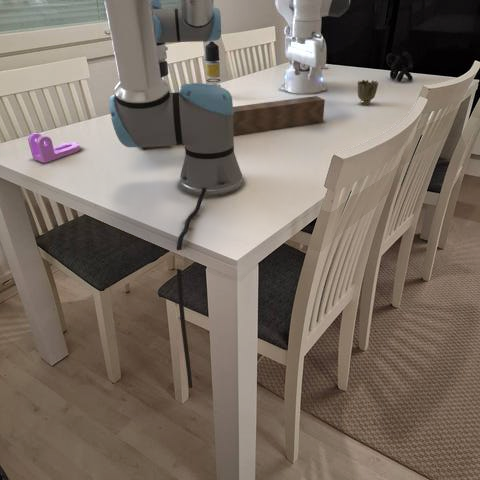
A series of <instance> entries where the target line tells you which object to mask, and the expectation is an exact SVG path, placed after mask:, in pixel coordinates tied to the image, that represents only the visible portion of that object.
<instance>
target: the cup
mask: <svg viewBox="0 0 480 480" xmlns="http://www.w3.org/2000/svg"><path fill="white" fill-rule="evenodd" d="M378 86H379V82H378V81H377V80H375V81H374V80H371V81H370V82H369V79H367V80H364V79H362V80H359V81H357V97H358V99H359V101H360V104H361V105H364V106H367V105H370V104H371V101H372V100H374V99H375V97H376V94H377V90H378Z"/></svg>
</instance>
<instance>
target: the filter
mask: <svg viewBox="0 0 480 480" xmlns="http://www.w3.org/2000/svg"><path fill="white" fill-rule="evenodd" d="M204 48H205V51H204V52H205V60H204V61H205V66H206V67H205V68H206V69H205V71H206V78H208V79H206V83H207V82H208V83H209V84H210V83H211V84H210V85H215V86H219V87H222V86H221V84H218V83H219V82H220V81H221V79H219V78H220V77H221V71H220V70H221V69H220V62H219V61H221V60H220V59H221V58H220V49H219V45H218V44H217V43H215V42H214V41H209V43H207V44H206V45H205V47H204ZM213 79H215V80H213ZM212 80H213V81H212Z"/></svg>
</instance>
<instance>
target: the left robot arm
mask: <svg viewBox="0 0 480 480" xmlns="http://www.w3.org/2000/svg"><path fill="white" fill-rule="evenodd" d="M103 1H104V6H105V12H106V17H107V22H108V27H109V32H110V38H111V43H112V48H113V53H114V59H115V64H116V68H117V75H118V79H119V82H118V83H117V85H116V86H115V87H114V91H113V92H114V94H113V95H111V96H110V98H109V104H108V105H109V113H110V117H111V123H112V126H113V129H114V132H115V133H114V134H115V135H116V137H117V139H118V141H119V142H120V143H121V144H122V145H123V146H125V147H126V148H139V149H142V148H145V147H155V148H159V147H158V146H162V147H173V146H174V147H176V146H184V154H185V155H184V158H183V164H182V168H181V171H180V176H179V183H180V184H179V185H180V188H181V189H182V191H184V192H186V193H187V194H190V195H194V196H199V197H198V199H197V202H196V205H195V208H194V210H192V212H191V213H190V214H189V215H188V216H187V218H186V219H185V222H184V227H183V229H182V231H181V233H180V234H179V235H178V238H177V241H176V251H181V250H182V246H183V242H184V241H183V240H184V238H185V236H186V235H187V233H188V231H189V229H190V223H191V221H192V220H193V219H194V217H196V215H197V214H198V213H199V211H200V209H201V206H202V202H203V200H204V197H221V196H224V195H229V194H232V193H234V192H235V191H237V190H239V189H240V188H241V187H242V185H243V174H242V171H241V168H240V165H239V163H238V160H237V157H236V154H235V138H234V137H235V136H234V134H233V114H234V110H233V107H234V106H233V105H234V104H233V96H232V94H231V92H230V91H229V90H227V89H226V88H224V87H222V86H221V87H219V86H215V85H210V83H199V82H191V83H184V84H182V85H180V86H179V89H178V92H171V91H170V85H169V83H168V82H167V81H165V80H164V79H163V78H164V77H167V76H168V75H169V66H168V65H169V64H168V63H169V62H168V61H167V59H168V58H167V56H168V55H167V51H168V50H169V47H168V46H166V44H167V43H168V44H169V43H172V44H173V43H194V42H195V43H196V42H199V43H201V42H203V43H208V42H211V41H213V42H214V41H215V42H216V41H219V40H220V39H221V38H222V37H221V36H222V17H221V15H222V14H221V10H220V8H218V7H214V0H179V2H180V8H163V5H162V0H103ZM182 272H183V271H182V269H180V268H177V269H176V281H177V296H178V309H179V320H180V328H181V336H182V344H183V351H184V360H185V361H184V362H185V369H186V374H187V376H186V377H187V385H188V386H187V387H188V388H189V389H192V388H193V377H192V367H191V361H190V360H191V359H190V353H189V344H188V335H187V327H186V317H185V306H184V290H183V273H182Z"/></svg>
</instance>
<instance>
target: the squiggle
mask: <svg viewBox="0 0 480 480" xmlns="http://www.w3.org/2000/svg"><path fill="white" fill-rule="evenodd" d="M401 57H402V59H401ZM391 59H392V60H391ZM393 60H394V61H393ZM385 61H386V64H387V67H390V68H391V70H390V72H389V78H390V79H391V80H395V79H396V81H397V82H399V83H400V82H402V81H403V79H404V76H406V78H407V80H408V81H412V80H413V79H414V77H413V75H412V74H411V73H410V72H409V71H410V70H412V69H413V68H414V64H413V61H412V57H411V54H410V53H409V52H408V51H403V53H402V54H401V55H396V54H394V53H392V52H390V53H387V55H386V57H385ZM406 62H407V65H408V66H407V67H405V66H404V65H405V64H406ZM400 70H401V71H400Z"/></svg>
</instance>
